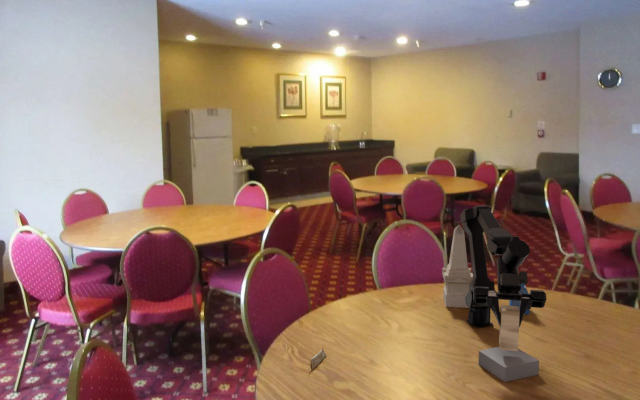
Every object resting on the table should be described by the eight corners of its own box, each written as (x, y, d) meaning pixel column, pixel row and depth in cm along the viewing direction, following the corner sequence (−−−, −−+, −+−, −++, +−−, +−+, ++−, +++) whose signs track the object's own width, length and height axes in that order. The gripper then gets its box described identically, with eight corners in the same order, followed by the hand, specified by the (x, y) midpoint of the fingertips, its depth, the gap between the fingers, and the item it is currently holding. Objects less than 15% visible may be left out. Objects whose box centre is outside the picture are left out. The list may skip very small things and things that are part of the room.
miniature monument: (441, 297, 202) (443, 221, 197) (469, 298, 200) (471, 221, 196) (444, 307, 192) (445, 227, 187) (473, 308, 190) (476, 227, 186)
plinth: (510, 357, 150) (511, 344, 150) (538, 374, 140) (539, 360, 140) (478, 364, 147) (478, 350, 146) (504, 382, 136) (505, 367, 136)
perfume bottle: (527, 308, 189) (528, 276, 187) (529, 314, 183) (530, 281, 181) (509, 307, 191) (510, 275, 189) (510, 313, 185) (512, 280, 183)
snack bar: (312, 370, 145) (312, 360, 145) (307, 369, 146) (307, 359, 145) (326, 356, 154) (326, 347, 153) (322, 355, 154) (322, 346, 154)
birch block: (499, 342, 145) (500, 304, 144) (516, 344, 144) (517, 306, 142) (500, 349, 141) (501, 310, 139) (517, 351, 140) (519, 312, 138)
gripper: (474, 258, 145) (474, 310, 136) (547, 261, 140) (551, 316, 131) (473, 277, 154) (473, 327, 145) (541, 281, 149) (545, 333, 140)
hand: (509, 325), depth 140 cm, fingers closed on birch block, 4 cm apart
